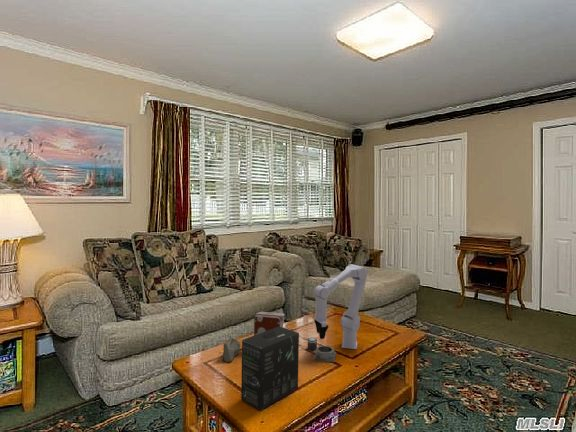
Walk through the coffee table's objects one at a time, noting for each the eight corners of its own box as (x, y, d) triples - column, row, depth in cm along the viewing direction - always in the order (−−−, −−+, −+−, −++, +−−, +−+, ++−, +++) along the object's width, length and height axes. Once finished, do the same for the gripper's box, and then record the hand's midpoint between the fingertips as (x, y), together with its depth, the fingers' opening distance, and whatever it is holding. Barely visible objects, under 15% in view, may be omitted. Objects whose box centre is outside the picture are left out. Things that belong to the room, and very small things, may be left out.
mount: (316, 351, 182) (316, 344, 182) (336, 353, 180) (336, 346, 180) (313, 360, 173) (313, 352, 173) (333, 362, 170) (333, 354, 170)
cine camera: (289, 357, 176) (290, 318, 175) (252, 353, 179) (252, 315, 178) (293, 349, 185) (293, 312, 184) (257, 346, 188) (258, 309, 187)
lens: (308, 346, 189) (308, 337, 189) (317, 347, 188) (317, 338, 188) (306, 350, 184) (306, 340, 184) (316, 351, 183) (316, 341, 183)
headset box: (278, 378, 155) (279, 320, 154) (299, 388, 147) (300, 327, 146) (239, 399, 138) (240, 335, 137) (261, 412, 130) (261, 344, 129)
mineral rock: (238, 349, 184) (238, 330, 183) (249, 356, 176) (249, 337, 175) (215, 356, 176) (216, 336, 175) (226, 364, 167) (226, 343, 167)
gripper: (310, 305, 185) (310, 330, 186) (316, 314, 171) (315, 341, 172) (323, 305, 186) (323, 330, 187) (330, 314, 172) (329, 341, 172)
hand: (320, 335), depth 179 cm, fingers open, 7 cm apart
